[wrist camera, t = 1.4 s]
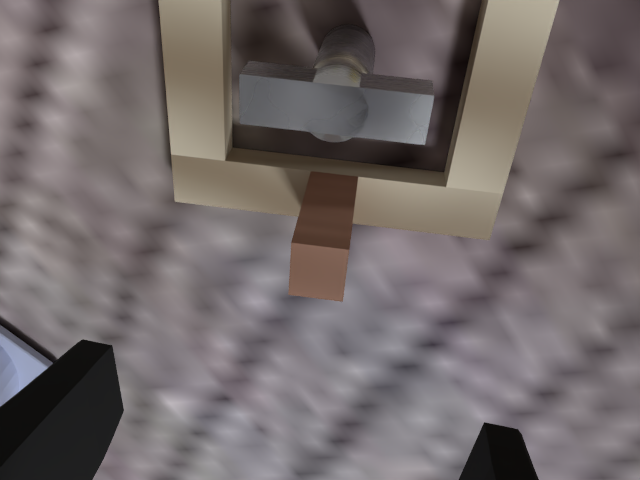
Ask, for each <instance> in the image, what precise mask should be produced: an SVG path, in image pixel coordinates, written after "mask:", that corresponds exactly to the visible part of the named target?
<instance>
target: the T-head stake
mask: <svg viewBox="0 0 640 480" xmlns="http://www.w3.org/2000/svg"><path fill="white" fill-rule="evenodd" d="M374 61H375V46H374V42H373V40H372V38H371V37H370V35H369V34H368V33H367V32H366V31H365V30H363V29H362V28H360V27H358V26H355V25H341V26H338V27H336V28H334V29H333V30H331V31H330V32H329V33H328V34H327V35H326V37H325V38H324V40H323V43H322V45H321V48H320V50H319V53H318V56H317V58H316V61H315V63H314V66H313V68H311V67H302V66H293V65H284V64H275V63H265V62H256V61H248V63H247V64H246V65H245V67H244V68H243V70H242V71H241V73H240V74H239V89H240V124H246V125H255V126H264V127H272V128H281V129H290V130H298V131H307V132H310V133H311V134H312V135H314V136H315V137H317V138H319V139H321V140H324V141H327V142H342V141H346V140H349V139H351V138H353V137H359V138H368V139H376V140H385V141H394V142H402V143H411V144H420V145H425V142H426V136H427V131H428V126H429V121H430V116H431V110H432V105H433V100H434V90H433V83H432V81H430V80H421V79H412V78H403V77H393V76H384V75H375V74H373V70H374Z"/></svg>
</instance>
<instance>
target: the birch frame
mask: <svg viewBox="0 0 640 480" xmlns="http://www.w3.org/2000/svg"><path fill="white" fill-rule="evenodd" d="M558 3H559V0H482V2H481V7H480V11H479V16H478V20H477V25H476V30H475V34H474V39H473V43H472V48H471V52H470V57H469V61H468V66H467V71H466V75H465V80H464V84H463V89H462V93H461V98H460V102H459V107H458V112H457V116H456V121H455V125H454V130H453V134H452V139H451V143H450V148H449V152H448V157H447V162H446V166H445V171H444V172H438V171H429V170H421V169H412V168H404V167H395V166H387V165H378V164H370V163H361V162H353V161H344V160H336V159H327V158H319V157H310V156H302V155H293V154H284V153H276V152H267V151H259V150H250V149H242V148H233V145H232V77H231V9H230V0H159V12H160V24H161V36H162V49H163V61H164V73H165V85H166V98H167V110H168V122H169V134H170V147H171V159H172V171H173V183H174V196H175V202H183V203H191V204H199V205H207V206H215V207H223V208H232V209H240V210H248V211H256V212H264V213H272V214H280V215H288V216H297V217H298V220H297V224H296V228H295V231H294V235H293V239H292V242H291V259H290V277H289V295H295V296H303V297H311V298H318V299H326V300H334V301H342V302H343V295H344V287H345V279H346V271H347V263H348V255H349V247H350V239H351V231H352V223H353V224H362V225H370V226H378V227H386V228H394V229H402V230H410V231H419V232H427V233H435V234H443V235H451V236H459V237H467V238H475V239H484V240H490V236H491V233H492V229H493V226H494V223H495V219H496V216H497V212H498V209H499V205H500V202H501V199H502V195H503V192H504V188H505V185H506V181H507V178H508V175H509V171H510V168H511V164H512V161H513V158H514V154H515V151H516V147H517V144H518V140H519V137H520V134H521V130H522V127H523V123H524V120H525V116H526V113H527V110H528V106H529V103H530V99H531V96H532V92H533V89H534V86H535V82H536V79H537V75H538V72H539V68H540V65H541V62H542V58H543V55H544V51H545V48H546V44H547V41H548V38H549V34H550V31H551V27H552V24H553V20H554V17H555V14H556V10H557V7H558Z"/></svg>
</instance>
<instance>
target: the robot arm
mask: <svg viewBox="0 0 640 480" xmlns="http://www.w3.org/2000/svg"><path fill="white" fill-rule="evenodd" d="M123 411H124V409H123V403H122V398H121V392H120V386H119V381H118V375H117V370H116V364H115V358H114V353H113V347H112V345H107V344H102V343H97V342H92V341H88V340H81V341H80V342H78V343H77V344H76V345H74V346H73V347H72V348H71V349H70V350H68V351H67V352H66V353H65V354H64V355H62V356H61V357H60V358H59V359H58V360H56V361H55V362H54V363H52V362H51V361H50V360H48V359H47V358H45V357H44V356H43V355H41V354H40V353H39V352H37V351H36V350H34V349H33V348H32V347H30V346H29V345H27V344H26V343H25V342H23V341H22V340H21V339H19V338H18V337H16V336H15V335H14V334H12V333H11V332H9V331H8V330H7V329H5V328H4V327H2V326H1V325H0V480H92V479H93V477H94V476H95V474H96V472H97V470H98V468H99V466H100V465H101V463H102V461H103V459H104V457H105V454H106V452H107V450H108V447H109V445H110V443H111V441H112V438H113V436H114V433H115V431H116V428H117V426H118V424H119V421H120V419H121V416H122V414H123ZM459 480H539V479H538V477H537V474H536V472H535V469H534V467H533V464H532V461H531V459H530V456H529V453H528V451H527V448H526V445H525V442H524V440H523V437H522V434H521V433H520V432H519V430H518V429H514V428H509V427H504V426H499V425H494V424H490V423H485V422H484V424H483V426H482V429H481V431H480V433H479V435H478V438H477V440H476V442H475V444H474V447H473V449H472V451H471V453H470V456H469V458H468V460H467V462H466V465H465V467H464V469H463V471H462V474H461V476H460V478H459Z"/></svg>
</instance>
